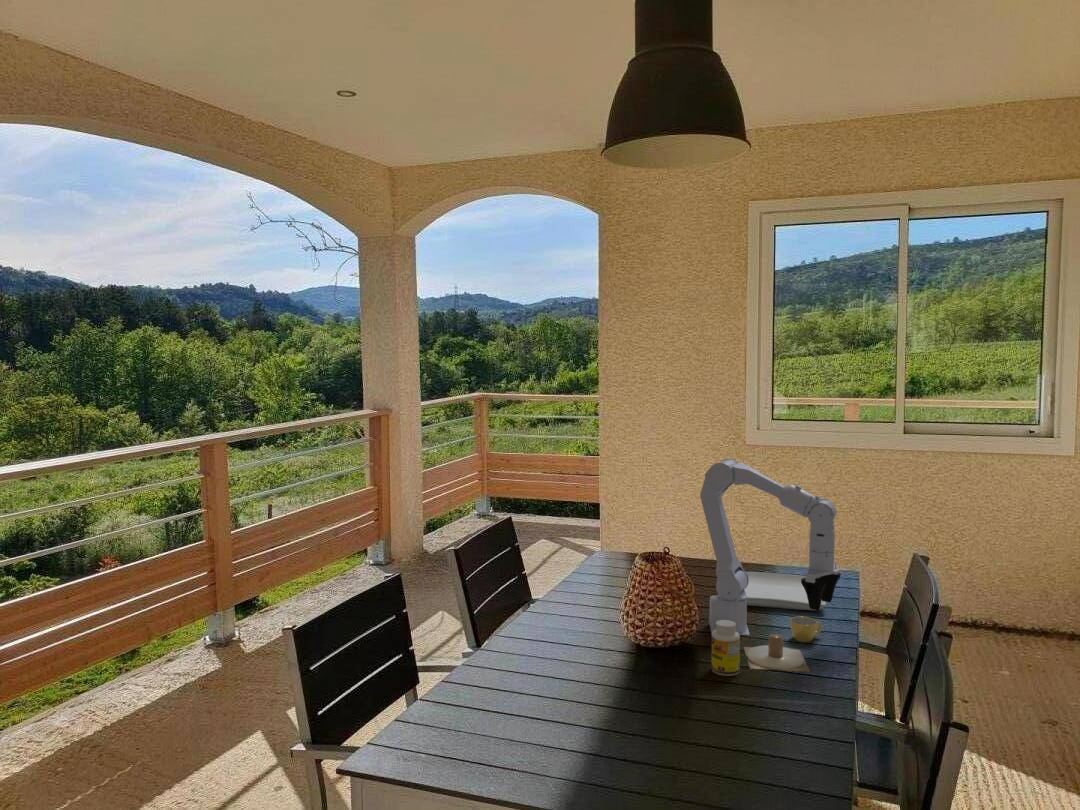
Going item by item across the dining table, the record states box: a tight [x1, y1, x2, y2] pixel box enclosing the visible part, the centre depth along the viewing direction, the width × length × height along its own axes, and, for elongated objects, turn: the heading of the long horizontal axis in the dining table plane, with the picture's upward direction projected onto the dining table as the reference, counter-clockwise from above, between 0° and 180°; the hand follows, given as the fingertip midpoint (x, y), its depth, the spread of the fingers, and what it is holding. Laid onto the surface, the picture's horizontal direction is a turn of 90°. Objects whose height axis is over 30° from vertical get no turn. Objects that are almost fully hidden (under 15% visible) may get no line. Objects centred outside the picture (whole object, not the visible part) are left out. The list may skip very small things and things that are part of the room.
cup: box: [789, 615, 823, 643], centre depth 190 cm, size 12×12×5 cm
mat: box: [743, 646, 811, 673], centre depth 178 cm, size 13×13×1 cm
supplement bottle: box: [710, 620, 741, 677], centre depth 171 cm, size 6×6×11 cm
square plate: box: [744, 571, 827, 611], centre depth 226 cm, size 27×27×4 cm
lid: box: [748, 633, 805, 671], centre depth 177 cm, size 12×12×5 cm
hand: (820, 605), depth 187 cm, fingers open, 7 cm apart
